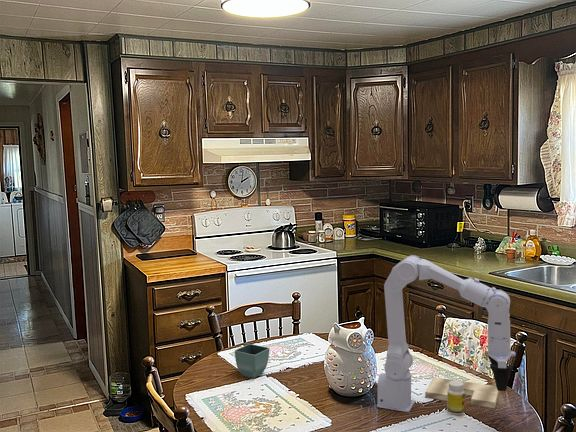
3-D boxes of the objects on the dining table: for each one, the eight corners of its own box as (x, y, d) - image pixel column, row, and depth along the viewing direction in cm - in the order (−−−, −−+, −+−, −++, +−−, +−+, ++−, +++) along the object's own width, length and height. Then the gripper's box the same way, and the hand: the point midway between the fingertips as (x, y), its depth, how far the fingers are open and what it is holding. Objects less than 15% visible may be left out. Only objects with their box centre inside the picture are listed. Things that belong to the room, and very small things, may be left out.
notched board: (425, 397, 179) (425, 391, 178) (433, 382, 190) (433, 377, 190) (495, 408, 170) (495, 402, 170) (499, 392, 182) (499, 386, 182)
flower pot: (270, 373, 200) (270, 347, 199) (255, 381, 193) (255, 355, 192) (249, 368, 205) (249, 343, 204) (234, 376, 198) (233, 350, 197)
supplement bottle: (465, 416, 166) (465, 387, 165) (447, 414, 167) (448, 386, 166) (463, 408, 170) (464, 380, 169) (446, 407, 171) (446, 379, 170)
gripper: (518, 344, 152) (519, 396, 153) (511, 329, 166) (512, 376, 167) (489, 344, 153) (490, 394, 155) (485, 328, 167) (486, 375, 169)
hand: (500, 385), depth 161 cm, fingers open, 7 cm apart
